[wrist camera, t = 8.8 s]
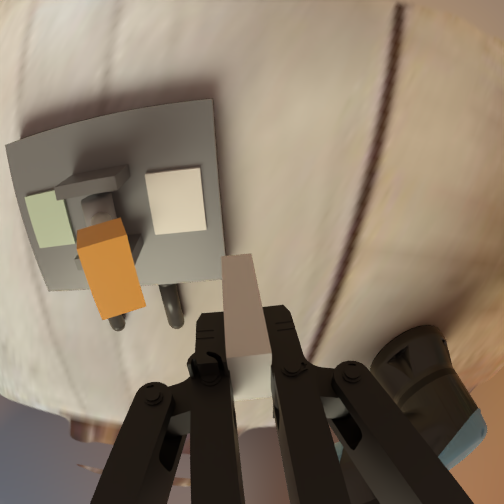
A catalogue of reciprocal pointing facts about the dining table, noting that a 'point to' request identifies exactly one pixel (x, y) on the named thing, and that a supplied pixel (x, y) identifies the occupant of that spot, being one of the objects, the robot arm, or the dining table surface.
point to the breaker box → (127, 195)
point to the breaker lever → (108, 258)
